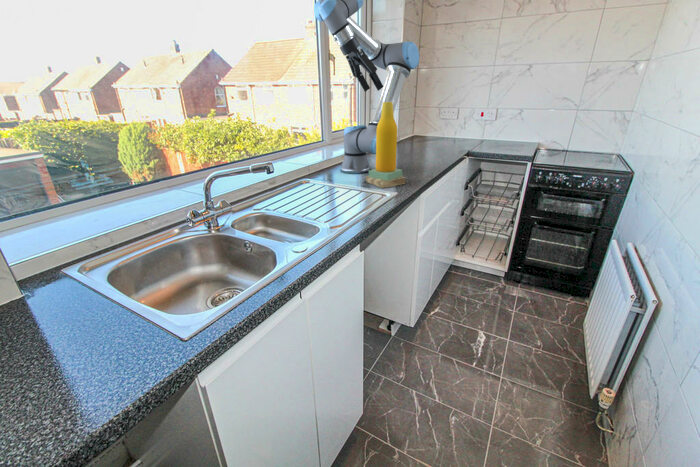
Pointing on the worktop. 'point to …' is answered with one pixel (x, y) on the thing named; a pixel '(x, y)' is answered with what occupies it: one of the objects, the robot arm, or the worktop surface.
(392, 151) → the beer bottle
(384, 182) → the base block
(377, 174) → the top block
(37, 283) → the worktop surface
